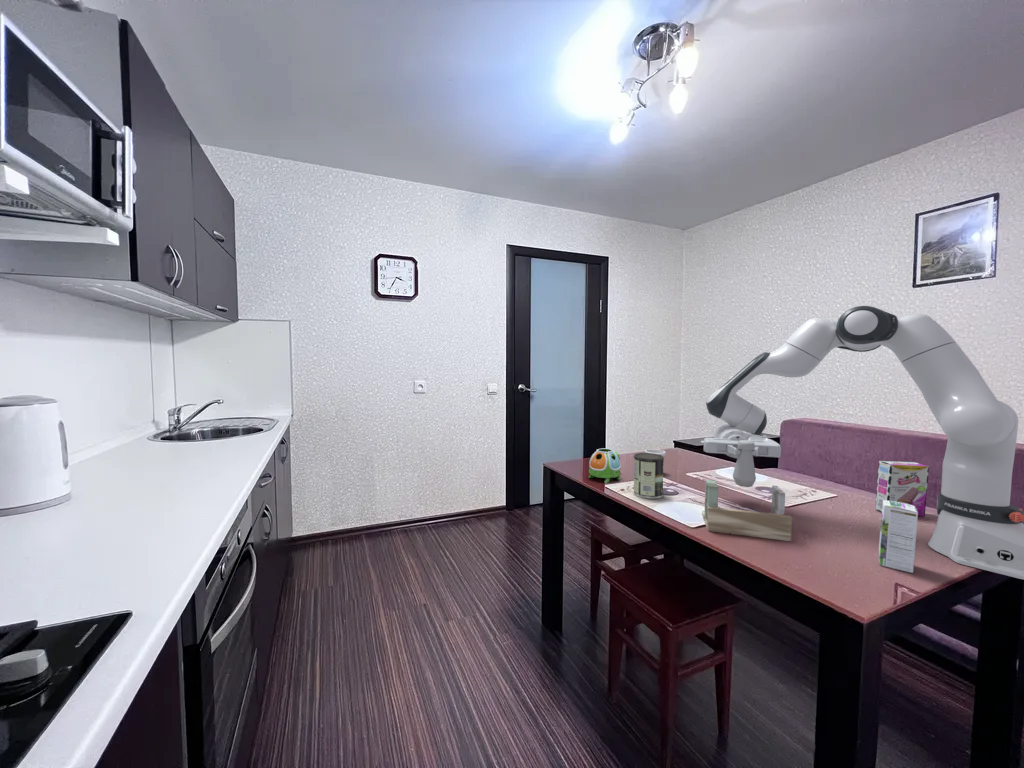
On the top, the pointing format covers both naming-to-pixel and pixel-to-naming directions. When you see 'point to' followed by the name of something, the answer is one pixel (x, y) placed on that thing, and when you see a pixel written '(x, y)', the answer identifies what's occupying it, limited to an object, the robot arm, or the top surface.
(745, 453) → the salt shaker
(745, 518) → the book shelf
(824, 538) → the top surface
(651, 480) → the coffee can
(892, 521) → the syrup box
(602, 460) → the turtle holder
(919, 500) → the candy bar box
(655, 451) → the dixie cup
